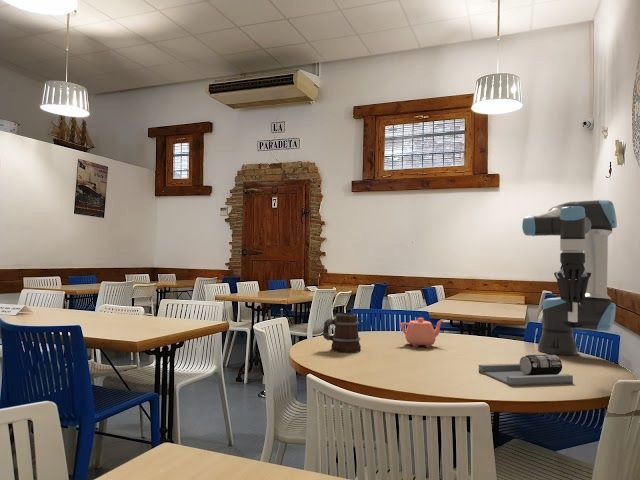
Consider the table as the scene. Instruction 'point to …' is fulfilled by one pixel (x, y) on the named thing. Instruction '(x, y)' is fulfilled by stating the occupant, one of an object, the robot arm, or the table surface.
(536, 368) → the beverage can
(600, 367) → the table surface
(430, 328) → the teapot
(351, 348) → the mug
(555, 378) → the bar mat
